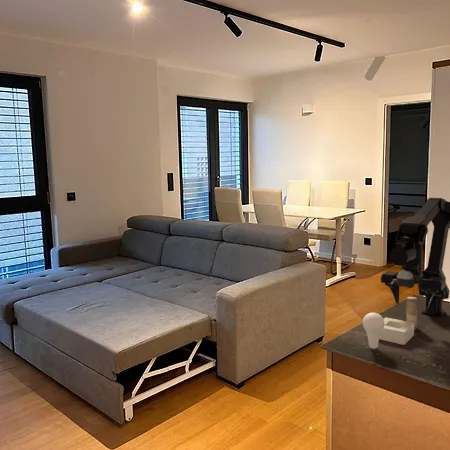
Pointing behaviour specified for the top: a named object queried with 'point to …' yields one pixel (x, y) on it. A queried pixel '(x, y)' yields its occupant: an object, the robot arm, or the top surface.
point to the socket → (397, 331)
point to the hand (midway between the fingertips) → (411, 306)
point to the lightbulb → (373, 328)
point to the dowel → (411, 310)
